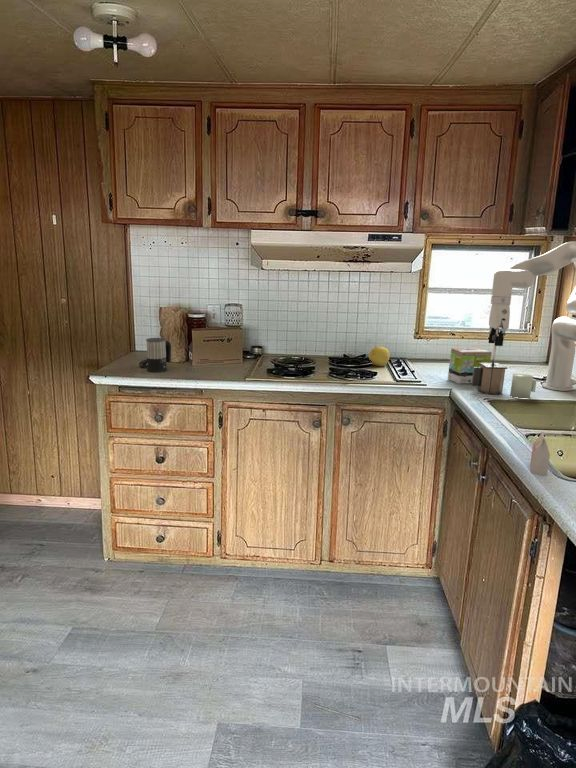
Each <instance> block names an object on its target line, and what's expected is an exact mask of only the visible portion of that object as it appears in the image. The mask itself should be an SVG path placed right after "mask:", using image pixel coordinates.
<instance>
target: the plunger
mask: <svg viewBox="0 0 576 768" xmlns="http://www.w3.org/2000/svg"><path fill="white" fill-rule="evenodd" d="M496 336H497V333H496V334H495V335H493V337H492V340H493V341H494V343H493V349H492V357H491V363H492V366H494V363H496V362H495V361H496V360H495V359H496V353H497V352H496V351H497V346H495V337H496Z"/></svg>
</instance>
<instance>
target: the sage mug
mask: <svg viewBox="0 0 576 768" xmlns="http://www.w3.org/2000/svg"><path fill="white" fill-rule="evenodd" d="M511 378H512V379H511V386H510V395H509V396H510V397H511V396H512V397H511V398H513V397H518V398H530V399H531V393H536V388H537V382H538V381H537V379H535V378H534V376H533V375H532V374H526V373H513V374H512V377H511Z"/></svg>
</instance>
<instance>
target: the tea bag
mask: <svg viewBox="0 0 576 768" xmlns="http://www.w3.org/2000/svg"><path fill="white" fill-rule="evenodd" d="M531 450H532V451H531V454H530V455H531V456H530V457H531V458H530V463H529V467H530V474H531V475H538V476H544V477H547V476H548V468H549V462H550V457H551V454H550V449H549V446H548V443H547V441H546V439H545V434H544V431H541V433H540V434H539V436H538V437H537V439H536V440H535V441H534V443H533V444H532V449H531Z"/></svg>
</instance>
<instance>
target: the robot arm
mask: <svg viewBox="0 0 576 768" xmlns="http://www.w3.org/2000/svg"><path fill="white" fill-rule="evenodd" d="M572 263H574V268H576V241H567V242H565V243H562V244H560V245H559V246H557V247H555V248H553V249H551V250H549V251H547V252H545V253H544V254H541V255H537V256H535V257H532V258H529V259H527V260H526V259H525V260H523V261H520V262H518V263H515V264H513V265H512V266H510V267H507V268H506V269H497V270H495V271H494V273H493V279H492V280H493V281H492V288H491V289H492V290H491V298H490V305H491V306H490V311H489V318H488V326H489V330H488V331H489V336H488V343H489V344H494V341H493V340H492V337H493V335H495V334H497V336H496V337H495V346H496V347H503V345H504V338H505V333H506V331H507V330H508V329H509V326H510V316H511V314H510V313H511V311H510V309H511V308H510V307H511V301H512V295H513V294H512V292H513V289H520V290H524V289H528V288H530V287H532V286H533V284H534V282H535V280H536V279H535V277H537V276H539V277H540V276H545V275H550V274H553V273H555V272H557V271H559V270H561V269H562V268H564V267H566V266H568V265H570V264H572ZM565 310H566V311H567V312H568V313H569V314H571V315H572V316H568V315H563V316H560V317H557V318H556V319H554V321H553V322H552V324H551V347H550V352H549V353H550V354H549V361H548V367H547V373H546V380H545V381H544V382H541V387H543V388H544V389H548V390H551V391H559V392H571V391H573V390H574V386H575V385H576V379H573V378H572V375H573V369H574V361H575V355H576V317H573V316H576V285H575V286H574V289H573V291H572V292H571V294H570V296H569V299H568V300H567V303H566V306H565Z"/></svg>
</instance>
